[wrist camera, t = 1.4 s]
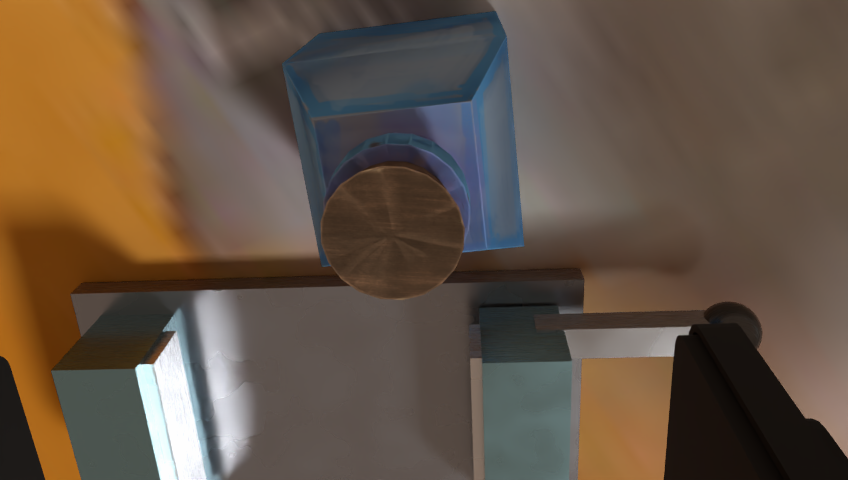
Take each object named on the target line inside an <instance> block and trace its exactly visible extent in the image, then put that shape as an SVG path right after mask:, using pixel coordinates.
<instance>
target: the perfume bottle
mask: <svg viewBox="0 0 848 480" xmlns="http://www.w3.org/2000/svg"><path fill="white" fill-rule="evenodd" d="M282 67H283V72H284V77H285V82H286V87H287V92H288V97H289V102H290V107H291V113H292V118H293V123H294V128H295V133H296V138H297V143H298V148H299V153H300V158H301V164H302V169H303V174H304V179H305V184H306V189H307V194H308V199H309V204H310V209H311V214H312V220H313V225H314V230H315V235H316V240H317V245H318V250H319V255H320V260H321V265H322V267H324V266H331V267H332V268H333V269H334V270H335V272H336V273H337V274H338V276H339V277H340V278H341V279H342V280H343V281H344V282H346V283H347V284H349V285H350V286H352V287H353V288H354V289H356V290H357V291H359V292H361V293H364V294H367V295H370V296H373V297H376V298H379V299H390V300H405V299H409V298H413V297H417V296H421V295H424V294H426V293H428V292H429V291H431V290H433V289H434V288H436V287H438V286H439V285H441V284H442V283H443V282H444V281H445V280H446V279H447V278H448V276H449V275H450V274H451V273H452V272H453V271H454V270H455V269H456V266H457V264H458V262H459V259H460V257H461V254H462V253H463V252H473V251H483V250H493V249H503V248H513V247H523V246H524V238H523V226H522V214H521V202H520V190H519V178H518V166H517V154H516V143H515V131H514V119H513V107H512V95H511V83H510V71H509V59H508V47H507V36H506V33H505V31H504V29H503V27H502V24H501V22H500V20H499V18H498V15H497V13H496V11H493V12H485V13H477V14H469V15H461V16H454V17H446V18H438V19H430V20H422V21H414V22H407V23H399V24H391V25H383V26H375V27H367V28H359V29H352V30H344V31H336V32H328V33H320V34H318V35H317V36H316V37H314V38H313V39H312V40H311V41H310V42H308V43H307V44H306V45H305V46H303V47H302V48H301V49H300V50H298V51H297V52H296V53H295V54H293V55H292V56H291V57H290V58H289V59H287V60H286V61H285V62H284V63H282Z"/></svg>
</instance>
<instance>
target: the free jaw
mask: <svg viewBox="0 0 848 480" xmlns="http://www.w3.org/2000/svg"><path fill="white" fill-rule="evenodd" d="M715 323H737V324H738V325H739V326H740V327H741V328H742V329H743V331H744V332H745V334H746V335H747V337H748V338H749V339H750V341H751V342H752V344H753V345H754V347H755V348H756V349H758V347H759V345H760V343H761V339H762V328H761V324H760V322H759V320H758V318H757V316H756V315H755V314H754V313H753V312H752V311H751V310H750V309H749V308H747V307H746V306H744V305H742V304H739V303H736V302H721V303H717V304H715V305H712V306H711V307H709V308H708V309H707V310H691V311H652V312H614V313H575V314H560V313H559V309H558V306H525V307H487V308H479V324H473V325H469V337H470V369H471V401H472V433H473V464H474V480H569V462H570V426H571V390H572V359H579V358H623V357H668V356H674V348H675V341H676V338H677V336H678V335H689V331H690V328H691V326H692V325H693V324H715Z"/></svg>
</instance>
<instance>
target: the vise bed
mask: <svg viewBox="0 0 848 480" xmlns="http://www.w3.org/2000/svg"><path fill="white" fill-rule="evenodd" d="M70 295H71V299H72V302H73V306H74V310H75V314H76V318H77V322H78V326H79V330H80V334H81V338H80V339H79V340H78V341H77V343H76V344H75V345H74V346H73V347H72V348H71V349H70V350H69V351H68V353H67V354H66V355H65V356H64V357H63V358H62V359H61V360H60V361H59V362H58V364H57V365H56V366H55V367H54V368H53V369H52V370H51V372H52V376H53V379H54V383H55V386H56V390H57V394H58V397H59V401H60V404H61V408H62V412H63V415H64V419H65V422H66V426H67V430H68V433H69V437H70V440H71V444H72V448H73V451H74V455H75V458H76V462H77V466H78V469H79V473H80V476H81V480H474V464H473V433H472V401H471V369H470V337H469V325H473V324H479V308H487V307H525V306H558V309H559V313H560V314H575V313H583V301H584V278H583V275H582V272H581V269H545V270H511V271H477V272H452V273H451V274H450V275H449V276H448V278H447V279H446V280H445V281H444V282H443V283H442V284H441V285H439V286H438V287H436V288H434V289H433V290H431V291H429V292H428V293H426V294H424V295H421V296H417V297H413V298H409V299H405V300H390V299H379V298H376V297H373V296H370V295H367V294H364V293H361V292H359V291H357V290H356V289H354V288H353V287H352V286H350V285H349V284H347V283H346V282H344V281H343V280H342V279H341V278H340V277H339V276H304V277H270V278H236V279H201V280H167V281H132V282H98V283H81V284H80V285H79V286H78V287H77V288H76V289H75V290H74V291H73V292H72V293H71V294H70ZM581 361H582V358H579V359H572V390H571V426H570V462H569V480H578V451H579V421H580V391H581Z"/></svg>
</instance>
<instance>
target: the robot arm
mask: <svg viewBox="0 0 848 480" xmlns="http://www.w3.org/2000/svg"><path fill="white" fill-rule="evenodd" d="M0 480H45V477H44V474H43V471H42V468H41V464H40V461H39V458H38V455H37V452H36V448H35V445H34V442H33V439H32V435H31V432H30V429H29V426H28V423H27V419H26V416H25V413H24V410H23V406H22V403H21V400H20V397H19V394H18V390H17V387H16V384H15V381H14V377H13V374H12V371H11V368H10V365H9V363H8V361H7V360H6V359H5V358H4V357H1V356H0ZM664 480H848V458H847V457H846V456H845V454H844V453H843V452H842V450H841V449H840V447H839V446H838V445H837V443H836V442H835V441H834V439H833V438H832V437H831V435H830V434H829V432H828V431H827V430H826V428H825V427H824V426H823V425H822V424H821V423H820V422H819V421H817V420H814V419H805V417H804V416H803V415H802V413H801V412H800V410H799V409H798V407H797V406H796V405H795V403H794V402H793V400H792V399H791V398H790V396H789V395H788V393H787V392H786V390H785V389H784V388H783V386H782V385H781V383H780V382H779V381H778V379H777V378H776V376H775V375H774V373H773V372H772V371H771V369H770V368H769V366H768V365H767V364H766V362H765V361H764V359H763V358H762V356H761V355H760V354H759V352H758V351H757V349H756V348H755V347H754V345H753V344H752V342H751V341H750V339H749V338H748V337H747V335H746V334H745V332H744V331H743V329H742V328H741V327H740V326H739V325H738V324H737V323H715V324H693V325H692V326H691V328H690V331H689V335H678V336H677V338H676V341H675V348H674V361H673V373H672V386H671V398H670V411H669V423H668V435H667V448H666V460H665V473H664Z"/></svg>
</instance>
